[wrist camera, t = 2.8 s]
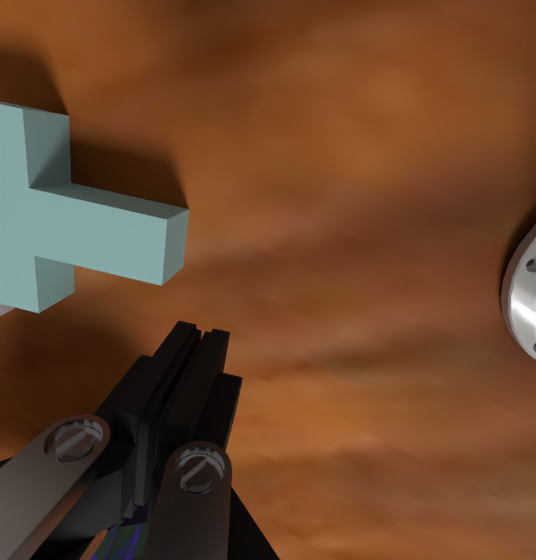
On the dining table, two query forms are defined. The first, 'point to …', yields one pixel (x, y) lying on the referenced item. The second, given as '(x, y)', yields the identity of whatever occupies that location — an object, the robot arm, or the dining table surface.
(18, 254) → the t block
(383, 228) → the dining table surface
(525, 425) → the dining table surface
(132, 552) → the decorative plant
